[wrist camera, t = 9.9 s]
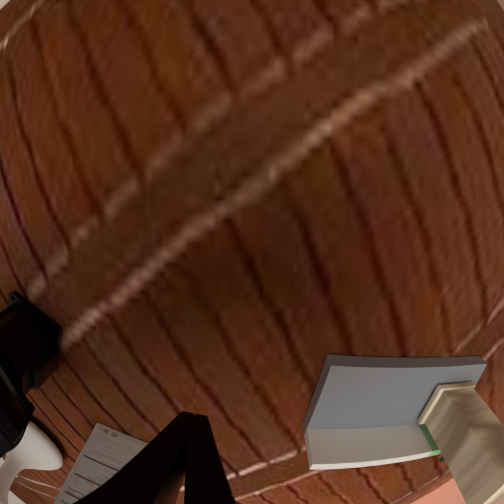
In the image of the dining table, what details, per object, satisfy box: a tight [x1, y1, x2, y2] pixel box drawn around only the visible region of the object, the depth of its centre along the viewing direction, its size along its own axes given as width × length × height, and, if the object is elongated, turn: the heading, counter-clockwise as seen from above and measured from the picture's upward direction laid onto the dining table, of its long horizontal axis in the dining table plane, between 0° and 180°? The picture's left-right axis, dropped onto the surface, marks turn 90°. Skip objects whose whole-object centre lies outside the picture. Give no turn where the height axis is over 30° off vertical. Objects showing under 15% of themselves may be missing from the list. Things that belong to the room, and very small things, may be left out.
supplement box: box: [54, 423, 148, 504], centre depth 19 cm, size 7×7×13 cm
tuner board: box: [302, 354, 487, 469], centre depth 20 cm, size 17×8×6 cm, turn 81°
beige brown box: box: [417, 381, 504, 504], centre depth 15 cm, size 5×6×12 cm
